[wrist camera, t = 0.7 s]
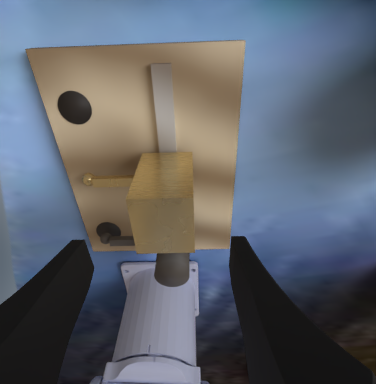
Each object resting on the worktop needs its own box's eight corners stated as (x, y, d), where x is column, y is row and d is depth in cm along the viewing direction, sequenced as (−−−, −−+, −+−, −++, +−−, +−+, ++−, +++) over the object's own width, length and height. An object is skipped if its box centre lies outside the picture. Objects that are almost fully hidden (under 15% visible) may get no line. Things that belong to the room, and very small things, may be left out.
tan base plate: (227, 241, 25) (237, 295, 20) (96, 243, 25) (73, 298, 20) (242, 39, 16) (267, 47, 11) (33, 48, 16) (-38, 59, 11)
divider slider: (193, 195, 20) (195, 252, 15) (91, 197, 21) (58, 255, 15) (192, 148, 18) (193, 197, 13) (77, 152, 18) (34, 201, 13)
